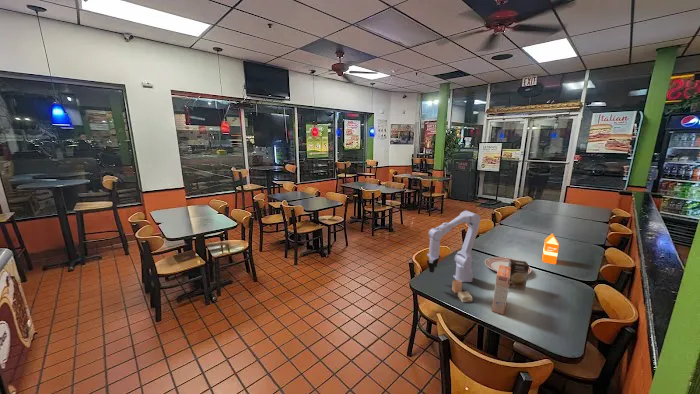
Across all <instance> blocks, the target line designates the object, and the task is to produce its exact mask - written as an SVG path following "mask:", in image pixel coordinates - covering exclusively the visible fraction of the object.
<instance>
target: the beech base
mask: <svg viewBox="0 0 700 394" xmlns="http://www.w3.org/2000/svg"><path fill="white" fill-rule="evenodd" d="M457 298H458V299H459V300H460V301H461V302H462V303H465V302H467V303H470V302H473V296H472V295H471V293H469V291H462V292H458V293H457Z"/></svg>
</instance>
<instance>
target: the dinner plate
mask: <svg viewBox="0 0 700 394" xmlns="http://www.w3.org/2000/svg"><path fill="white" fill-rule="evenodd" d="M509 259H511V260H516V259H515V258H510V257H504V256H493V257H488V258H486V259H485V260H484V264H485V266H486V267H488V269H491V270H492V271H494V272H496V273H497V272H498V268H499V265H503V266H508V264H509ZM531 273H532V268H531V267H530V266H529V269H528V275H529V274H531Z"/></svg>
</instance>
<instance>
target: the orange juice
mask: <svg viewBox="0 0 700 394" xmlns="http://www.w3.org/2000/svg"><path fill="white" fill-rule="evenodd" d="M559 248H560V244H559V241H558V240H557V238H556V237H555V234H553V233H551V234H550V235H548V236H547V237H546V238H544V244H543V250H542V257H541V259H542V263H546V264H552V265H556V264H557V259H558V254H559Z"/></svg>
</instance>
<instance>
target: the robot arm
mask: <svg viewBox="0 0 700 394" xmlns="http://www.w3.org/2000/svg"><path fill="white" fill-rule="evenodd" d="M481 219H482V218H481V217H480V214H479V213H475V212H471V211H469V210H464V211H462V212H460V213H459V215H458V216H455V218H453V219H452V220H451V221H449V222H442V224H440V225H438V226H436V227H435V228H434V227H433V228H430V229H429V230H428V233H427V236H428V237H429V249H428V253H427V254H426V256H427V257H428V258H429V259H428V260H426V263H427V266H428V271H429V273H432V274H434V272H435V268H437V267H438V263H439V259H440V258H441V255H440V247H441V246H440V245H441V244H440V243H441V240H442V238H443V237H444V235H446V234H448V233H450V232H451V231H452V228H454V227H456V226H458V225H460V224H462V223H463V224H464V223H466V225H467V226H468V228H467V231H466V235H465V238H464V241H463V244H462V247H461V250H459V251H457V253H456V254H455V255H454V262H455V265H456V267H455V274H453V275H452V276H453V278H454V280H460V281H461V282H462V283H470V282H471V283H472V282H473V274H474V268H473V267H472V265H473V256H472V249H473V248H474V247H473V246H474V244H475V241H476V238H477V235H478V231H479V229H480V222H481Z"/></svg>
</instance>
